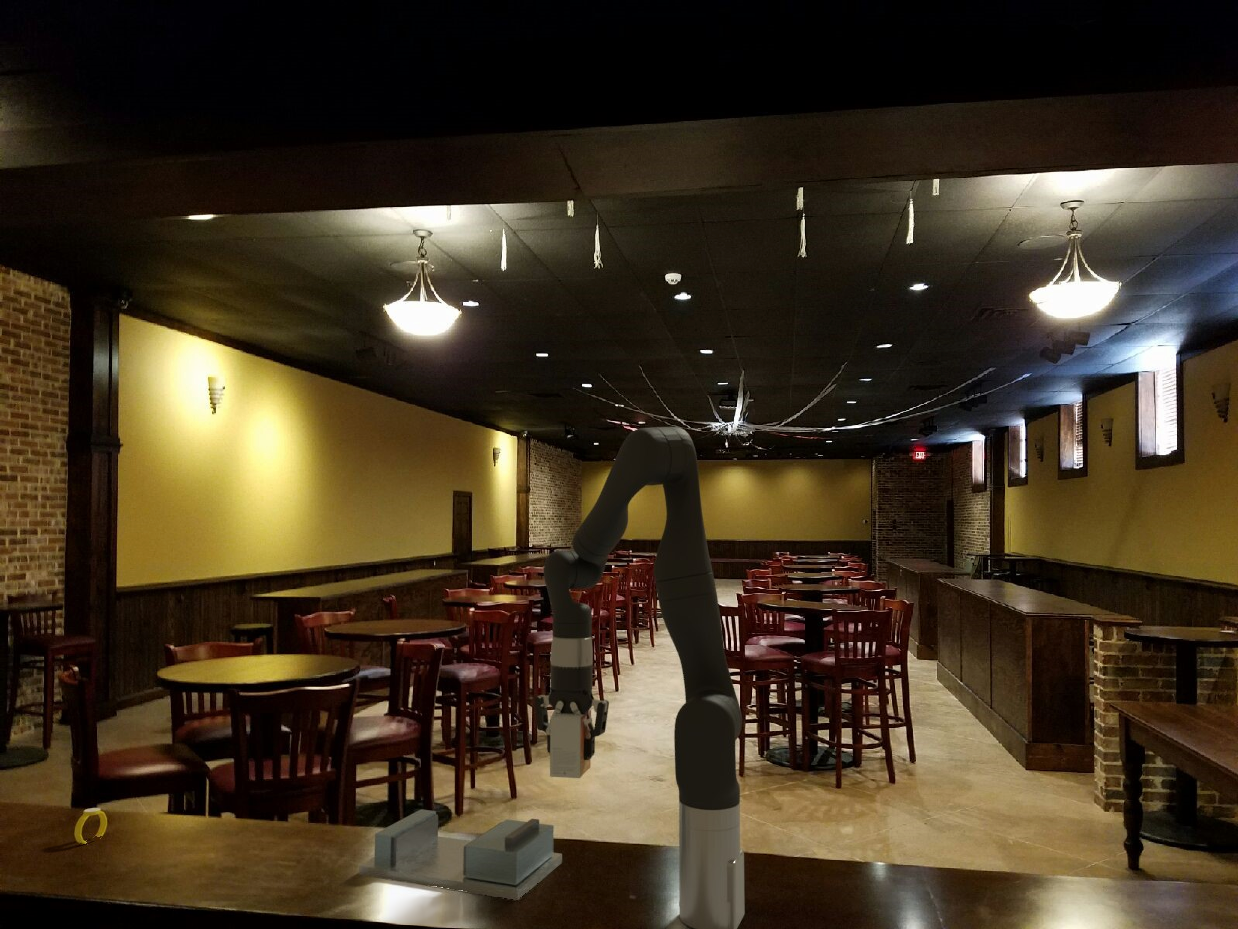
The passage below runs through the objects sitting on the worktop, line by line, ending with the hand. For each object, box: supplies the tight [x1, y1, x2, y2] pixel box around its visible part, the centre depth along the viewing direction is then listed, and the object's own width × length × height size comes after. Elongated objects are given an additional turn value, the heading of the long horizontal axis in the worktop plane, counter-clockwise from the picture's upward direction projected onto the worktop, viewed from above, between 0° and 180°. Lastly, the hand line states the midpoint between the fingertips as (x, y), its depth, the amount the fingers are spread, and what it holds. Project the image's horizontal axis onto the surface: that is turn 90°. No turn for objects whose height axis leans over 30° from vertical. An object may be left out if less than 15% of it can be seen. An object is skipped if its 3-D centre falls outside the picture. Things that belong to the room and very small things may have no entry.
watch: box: [74, 807, 108, 845], centre depth 164 cm, size 6×3×6 cm, turn 164°
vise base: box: [358, 809, 563, 901], centre depth 151 cm, size 30×17×6 cm, turn 69°
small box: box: [549, 708, 592, 779], centre depth 157 cm, size 8×6×10 cm
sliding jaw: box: [463, 818, 554, 885], centre depth 148 cm, size 10×14×6 cm
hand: (570, 757), depth 156 cm, fingers closed on small box, 6 cm apart
